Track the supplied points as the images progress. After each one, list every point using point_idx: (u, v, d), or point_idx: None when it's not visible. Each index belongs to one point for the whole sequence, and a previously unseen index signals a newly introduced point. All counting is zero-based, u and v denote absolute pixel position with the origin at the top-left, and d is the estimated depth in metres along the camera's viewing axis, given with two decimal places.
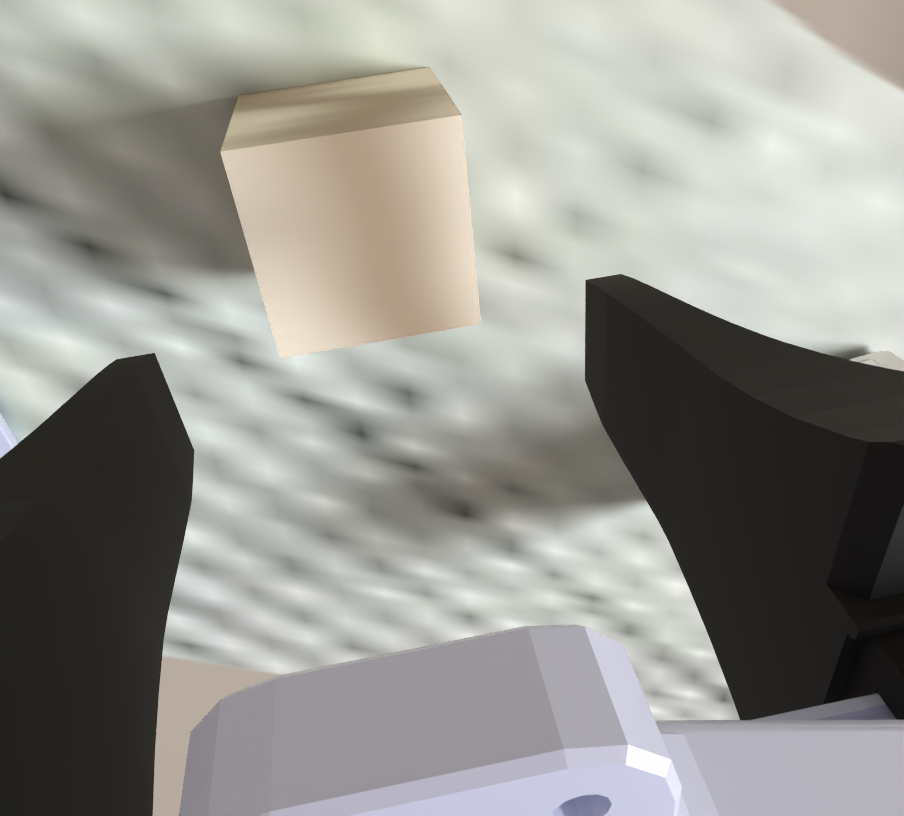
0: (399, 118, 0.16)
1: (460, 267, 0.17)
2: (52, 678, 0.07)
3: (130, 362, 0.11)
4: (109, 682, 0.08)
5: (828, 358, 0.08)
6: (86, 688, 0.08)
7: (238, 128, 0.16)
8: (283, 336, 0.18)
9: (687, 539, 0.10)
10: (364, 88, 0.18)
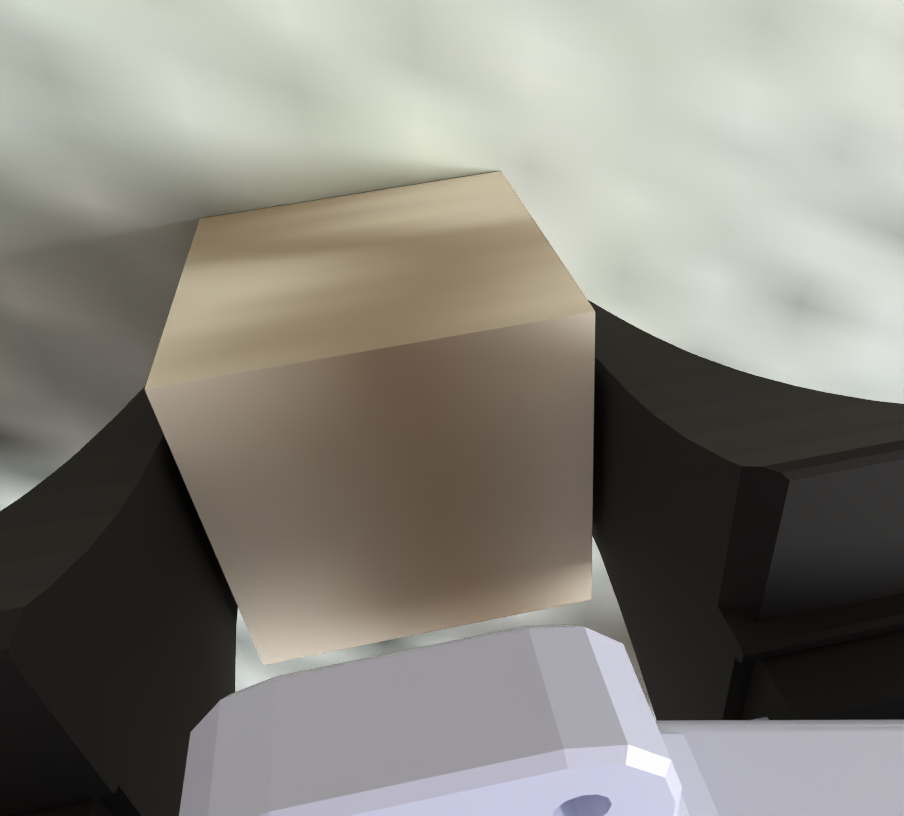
0: (477, 312, 0.08)
1: (567, 530, 0.10)
2: (156, 658, 0.07)
3: None
4: (198, 665, 0.09)
5: (739, 374, 0.08)
6: (181, 669, 0.08)
7: (187, 314, 0.09)
8: (268, 637, 0.11)
9: (614, 553, 0.10)
10: (402, 218, 0.11)
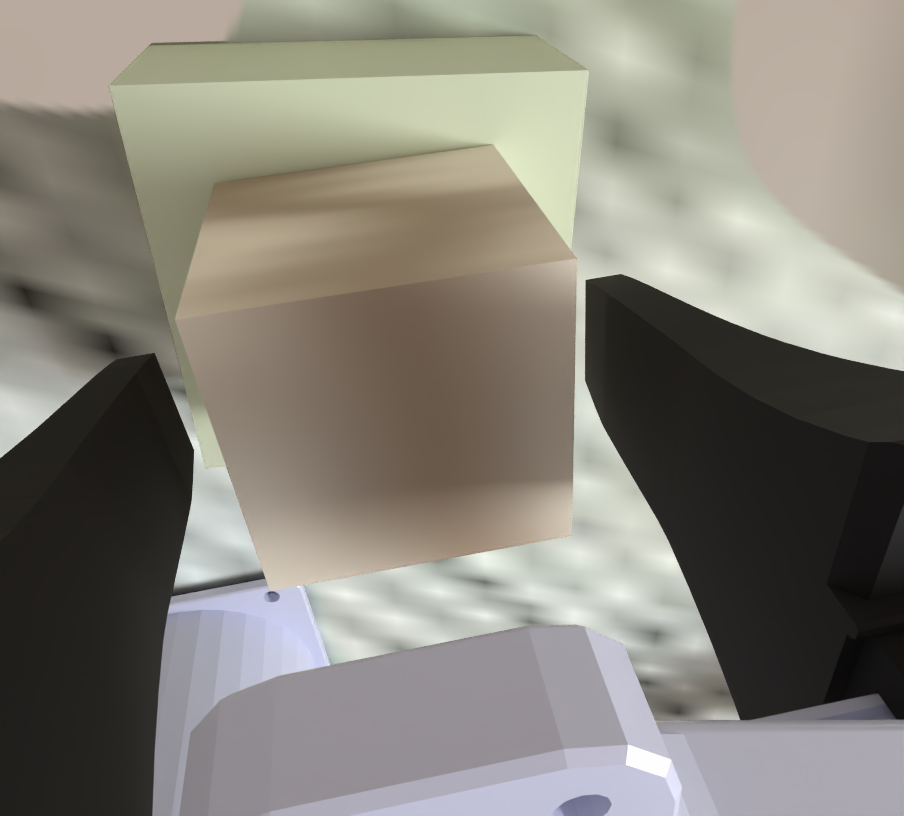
0: (472, 259, 0.10)
1: (549, 466, 0.11)
2: (52, 678, 0.07)
3: (130, 362, 0.11)
4: (109, 682, 0.08)
5: (828, 358, 0.08)
6: (86, 688, 0.08)
7: (208, 261, 0.10)
8: (276, 564, 0.11)
9: (687, 539, 0.10)
10: (402, 183, 0.12)
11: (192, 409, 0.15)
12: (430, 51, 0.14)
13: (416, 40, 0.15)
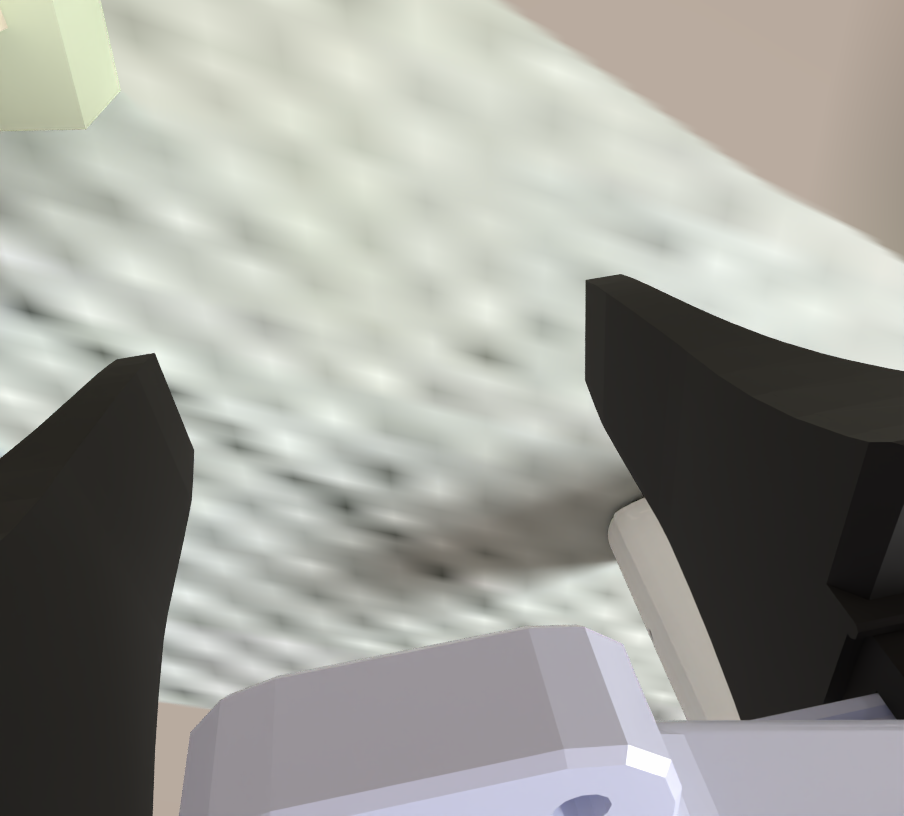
0: None
1: None
2: (52, 678, 0.07)
3: (130, 362, 0.11)
4: (109, 682, 0.08)
5: (828, 358, 0.08)
6: (86, 688, 0.08)
7: None
8: None
9: (687, 539, 0.10)
10: None
11: None
12: None
13: None
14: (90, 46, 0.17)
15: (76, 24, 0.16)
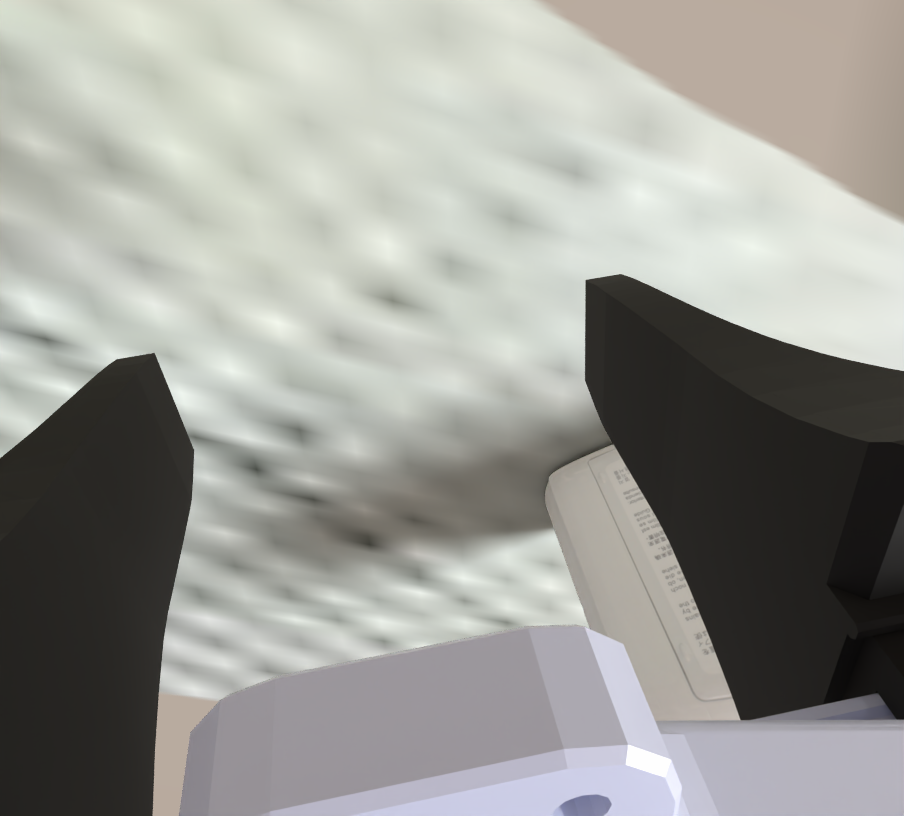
0: None
1: None
2: (52, 678, 0.07)
3: (130, 362, 0.11)
4: (109, 682, 0.08)
5: (828, 358, 0.08)
6: (86, 688, 0.08)
7: None
8: None
9: (687, 539, 0.10)
10: None
11: None
12: None
13: None
14: None
15: None
